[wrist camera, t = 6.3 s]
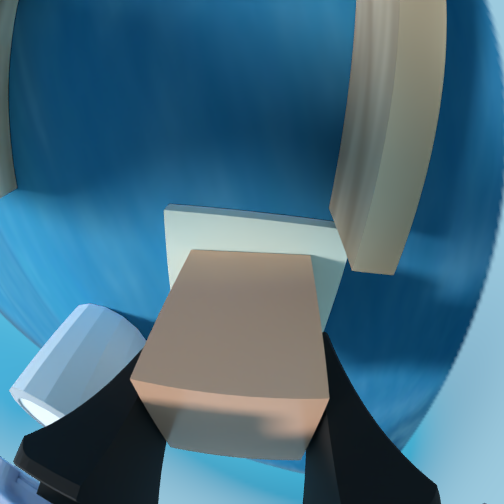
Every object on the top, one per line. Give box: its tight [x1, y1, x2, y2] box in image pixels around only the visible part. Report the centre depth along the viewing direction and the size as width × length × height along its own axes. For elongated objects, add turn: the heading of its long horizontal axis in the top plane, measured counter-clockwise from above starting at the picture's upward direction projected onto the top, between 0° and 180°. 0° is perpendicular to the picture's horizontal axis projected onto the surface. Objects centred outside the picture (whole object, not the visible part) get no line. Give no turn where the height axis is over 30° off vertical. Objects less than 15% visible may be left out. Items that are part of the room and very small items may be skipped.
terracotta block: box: [130, 250, 330, 460], centre depth 9 cm, size 4×4×6 cm
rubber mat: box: [164, 204, 347, 332], centre depth 12 cm, size 7×8×1 cm
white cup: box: [9, 303, 146, 427], centre depth 13 cm, size 7×7×7 cm
